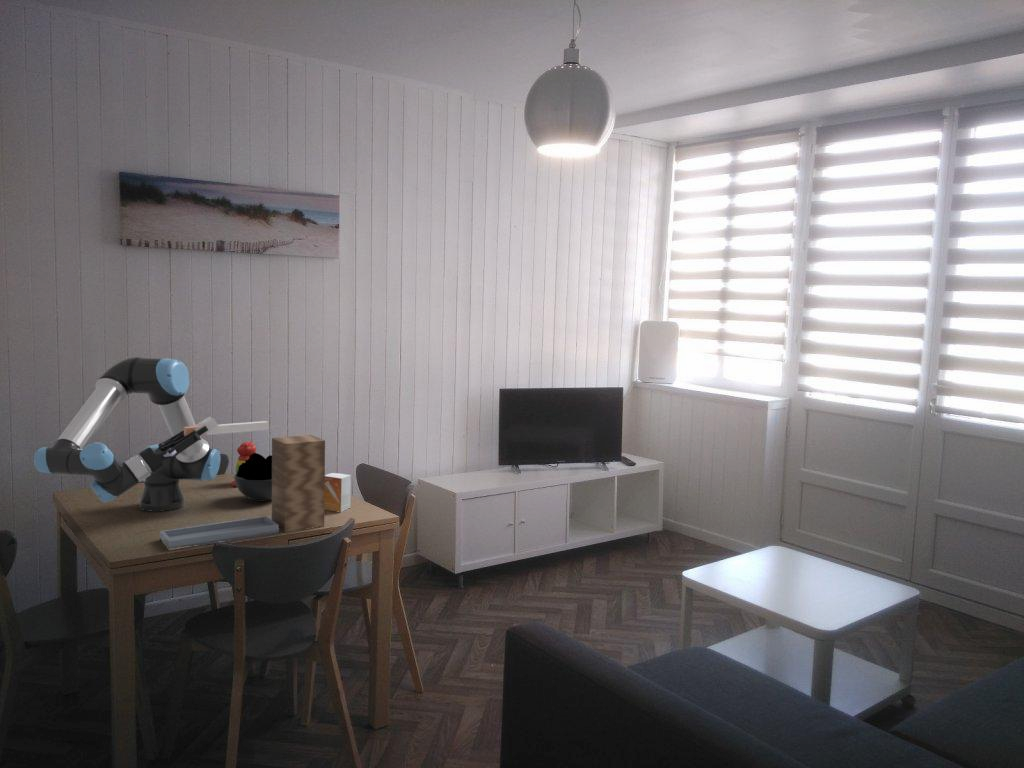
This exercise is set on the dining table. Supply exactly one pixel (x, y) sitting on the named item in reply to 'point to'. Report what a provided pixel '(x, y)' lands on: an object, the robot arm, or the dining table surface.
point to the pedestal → (298, 482)
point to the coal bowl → (255, 477)
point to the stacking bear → (244, 455)
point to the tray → (219, 532)
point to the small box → (337, 492)
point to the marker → (232, 428)
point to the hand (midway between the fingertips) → (213, 420)
